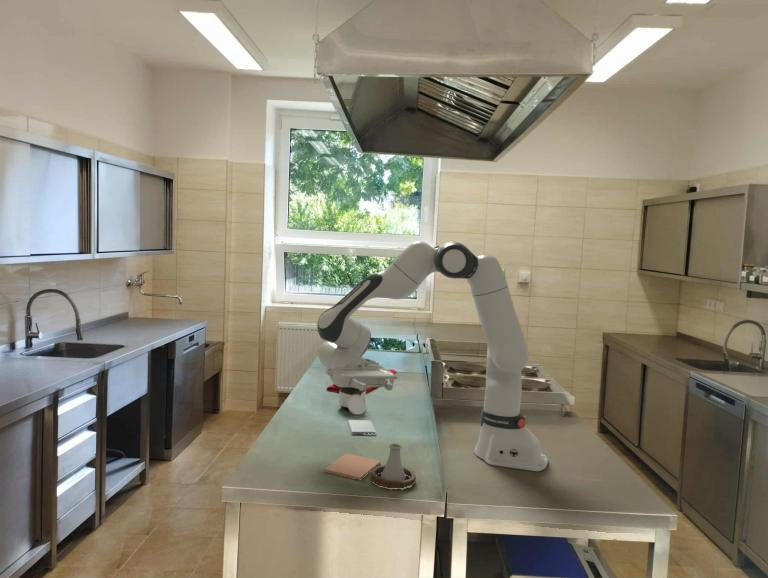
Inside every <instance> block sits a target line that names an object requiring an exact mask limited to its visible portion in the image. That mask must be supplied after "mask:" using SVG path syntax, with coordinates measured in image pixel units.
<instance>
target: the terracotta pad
mask: <svg viewBox="0 0 768 578" xmlns="http://www.w3.org/2000/svg"><path fill="white" fill-rule="evenodd" d="M379 463H380V464H381V460H376V459H374V458H369V457H364V456H359V455H356V454H351V453H345V454H343V455H342V456H341V457H339V458H338V459H337V460H335V461H333V462H332V463H331V464H329V465H328V466H326V467H325V468H324V469H323V472H324V473H328V474H331V473H332V475H335V474H337V475H336V476H339V475H341V476H340V477H343V476H346V477H345V478H347V477H350V478H349V479H351V478H355V479H359V480H360V479H362V478H363V477H364V476H365V475H366V474H367V473H369V472H370V471H371V470H372V469H373V468H375V467H376V466H377V465H378V464H379ZM380 464H379V465H380ZM379 465H378V466H379ZM370 473H371V472H370ZM370 473H369V474H370ZM366 476H367V475H366ZM366 476H365V477H366ZM365 477H364V478H365ZM364 478H363V479H364ZM355 479H354V480H355ZM363 479H362V480H363ZM359 480H358V481H359ZM360 481H361V480H360Z"/></svg>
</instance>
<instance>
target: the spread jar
mask: <svg viewBox="0 0 768 578" xmlns="http://www.w3.org/2000/svg"><path fill="white" fill-rule="evenodd" d="M366 395H367V392H366V390H365V391H361V390H359V389H357V388H354V387H341V388H340V392H339V393H338V406H339V408H341V409H342V410H343V409H344V411H346V410H347V411H346V412H350V413H351V414H353V415H356V414H357V413H358V414H357V415H361V414H363V413H365V410H366V408H367V402H366V397H367V396H366Z"/></svg>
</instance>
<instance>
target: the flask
mask: <svg viewBox="0 0 768 578" xmlns="http://www.w3.org/2000/svg"><path fill="white" fill-rule="evenodd" d="M389 448H390V449H389V456H388V459H387V460H386V464H385V465H386V466H385V468H384V470H383V472H382V474H380V476H379V477H380V478H381V479H385V480H389V481H404V480H405V479H406V480H407V477H406V476H405V473H404V470H403V467H404V466H403V463H402V459H401V448H402V445H401V444H400V443H390V444H389Z"/></svg>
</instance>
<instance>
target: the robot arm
mask: <svg viewBox="0 0 768 578" xmlns="http://www.w3.org/2000/svg"><path fill="white" fill-rule="evenodd" d="M437 272H438V273H440V274H441V275H443V276H445V277H446V278H449V279H454V280H455V279H457V280H458V279H459V280H460V279H462V280H463V279H465V280H466V281H467V282H468V284H469V287H470V290H471V293H472V297H473V302H474V304H475V308H476V311H477V314H478V318H479V322H480V325H481V327H482V331H483V334H484V338H485V341H486V344H487V345H486V347H487V348H486V349H487V350H486V367H485V368H486V370H485V371H486V372H485V389H484V391H485V392H484V399H483V401H484V402H483V408H482V409H481V414H480V431H479V436H478V440H477V443H476V446H475V448H474V451H473V453H474V454H475V456H477V457H478V458H479V459H481V460H483V461H484V462H485V463H487V464H488V465H490V466H497V467H504V468H512V469H517V470H525V471H531V472H541V471H543V470H545V469H546V468H547V466H548V464H549V463H548V460H549V458H548V456H546V455H545V454H543V453H542V447H541V446H542V445H541V443H540V439H538V438H537V436H535V435H534V434H533V433H532V432H531V431H530V430H529V429H528V428H527V427H526V418H527V417H526V415H523V414H522V413H520V411H521V400H522V393H523V392H522V390H523V387H522V386H523V384H522V383H523V382H522V370H524V368H525V367H526V366H527V364H528V363H529V362H528V361H529V355H530V353H529V352H530V351H529V349H528V346H527V343H526V339H525V335H524V332H523V330H522V327H521V324H520V322H519V318H518V315H517V313H516V309H515V306H514V303H513V299H512V295H511V291H510V289H509V285H508V282H507V279H506V276H505V273H504V271H503V269H502V267H501V265H500V262H499V260H498V259H497V258H496V257H495V256H493V255H490V254H482V255H475V254H474V253H473V252H472V251H471V250H470V249H469V248H468V247H467V246H466V245H465V244H463V243H462V242H459V241H456V240H455V241H454V240H453V241H447V242H445V243H443V244H440V245H438V246H433V247H432V246H431V245H430V244H428V242H425V241H420V240H417V241H416V240H415V241H413V242H412V243H411V244H410V245H408V246H407V247H405V248H404V249H403V250H402V251H401V252H400V254H398V255H397V256H396V258H394V260H393V261H392V262H391V263H390V264H389V265H388V266H387V267H385V268H384V269H382V270H381V271H379V272H374V273H371V274H369V275H368V276H366V277H365V278H364V279H362V280H361V281H360V282H359V283H358V284H357V285H356V286H355V287H354V288H352V289H351V290H350V291H349V292H348V293H347V294H346V295H344V297H342V298H341V299H340V300H339V301H338V302H337V303H336V304H334V305H333V306H332V307H330V308H329V309H327V310H325V311H324V312H323V313H321V315H320V316H319V317H318V320H317V328H316V329H317V332H318V335H319V337H320V338H321V339H322V340H324V342H323V343H321V345H320V346H319V348H318V351H317V358H318V361H319V363H320V364H321V366H322V367H324V368H325V369H326V370H325V374H326V375H328V376H329V379H330V381H331V382H332V384H333V383H334V384H335V385H337V386H339V387H354V388H357V389H359V390H361V391H365V390H366V388H367V387H375V388H384V390H385V391H393V387H394V383H395V379H396V377H395V376H396V374H395V375H394V374H393V373H392V372H390V371H389V370H387V369H388V368H386V367H385V366H383V365H380V363H379V362H378V361H377V360H374V359H368V358H364V357H363V355H364V354H365V353H366V352H367V351H368V349H369V347H370V345H371V341H372V334H371V333H372V332H371V330H370V328H368V326H366V325H364V324H363V323H361V322H360V321H358V320H356V319H354V318H352V317H351V316H352V315H353V314H354V313H356V311H358V309H360V308H361V307H362V306H363V305H364V304H366V302H367V301H369V300H371V299H376V298H384V299H390V300H403V299H404V300H405V299H406V298H408V297H409V296H411V295H412V294H413V293H415V292H416V291H417V289H418V288H419V287H420V285H421V284H422V283H423V282H424V281H425V279H426V278H427V277H428V276H430V275H431V274H433V273H437Z"/></svg>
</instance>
